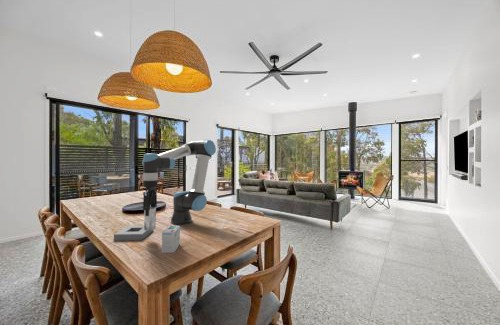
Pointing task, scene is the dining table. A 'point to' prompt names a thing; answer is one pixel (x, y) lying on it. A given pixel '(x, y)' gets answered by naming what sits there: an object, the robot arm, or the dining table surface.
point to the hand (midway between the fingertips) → (150, 219)
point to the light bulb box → (170, 239)
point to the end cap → (152, 223)
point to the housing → (132, 233)
